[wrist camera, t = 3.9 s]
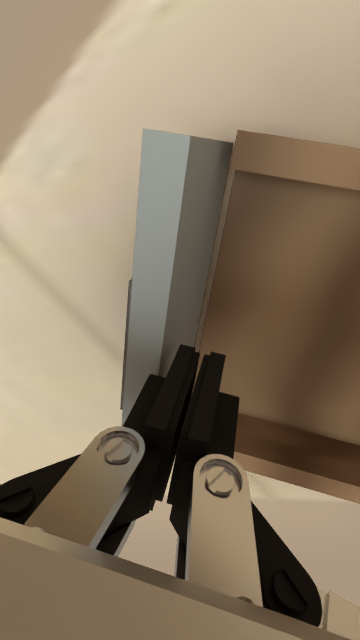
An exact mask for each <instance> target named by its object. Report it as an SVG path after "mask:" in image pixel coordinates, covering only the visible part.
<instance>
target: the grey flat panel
mask: <svg viewBox="0 0 360 640" xmlns="http://www.w3.org/2000/svg"><path fill="white" fill-rule="evenodd" d="M232 148H233V143H230V142H224V141H218V140H212V139H206V138H200V137H194V136H188V135H182V134H175V133H169V132H163V131H156V130H150V129H144V128H143V138H142V152H141V166H140V180H139V193H138V207H137V221H136V235H135V248H134V262H133V276H132V279H131V280H130V281H129V290H128V304H127V319H126V334H125V349H124V363H123V378H122V393H121V408H120V409H122V410H123V414H122V427H123V425H124V423H125V421H126V419H127V417H128V415H129V413H130V411H131V409H132V407H133V405H134V403H135V401H136V400H137V398H138V396H139V394H140V392H141V390H142V388H143V386H144V384H145V382H146V380H147V378H148V377H149V375H150V374H153V375H157V376H161V377H165V378H166V376H167V373H168V371H169V369H170V367H171V364H172V362H173V360H174V358H175V355H176V353H177V351H178V348H179V346H180V344H182V345H187V346H191V347H194V346H195V341H196V336H197V330H198V325H199V320H200V315H201V310H202V304H203V299H204V294H205V289H206V284H207V278H208V273H209V268H210V263H211V257H212V252H213V247H214V242H215V237H216V231H217V226H218V221H219V216H220V210H221V205H222V200H223V195H224V190H225V184H226V179H227V174H228V169H229V164H230V158H231V153H232Z"/></svg>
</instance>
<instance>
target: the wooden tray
mask: <svg viewBox="0 0 360 640" xmlns="http://www.w3.org/2000/svg"><path fill="white" fill-rule="evenodd" d="M230 169H235V170H236V171H235V176H234V181H233V186H232V191H231V196H230V201H229V206H228V210H227V215H226V220H225V225H224V230H223V235H222V240H221V245H220V250H219V255H218V260H217V265H216V270H215V275H214V280H213V285H212V290H211V295H210V300H209V305H208V310H207V315H206V320H205V324H204V329H203V334H202V339H201V344H200V349H199V353H200V357H199V362H198V367H197V372H196V377H195V382H194V386H195V383H196V380H197V376H198V373H199V370H200V366H201V363H202V360H203V356H204V354H206V355H210V353H211V352H215V353H219V354H224V355H226V358H225V363H224V368H223V373H222V378H221V384H220V389H219V392H222V393H226V394H230V395H234V396H238V397H239V398H240V399H239V410H238V419H237V429H236V439H235V448H234V458H233V460H235V461H236V462H237V463H238V464H240V465H241V466H242V468H243V469H244V470H245V471H249V472H252V473H256V474H259V475H263V476H266V477H270V478H273V479H276V480H280V481H283V482H287V483H290V484H294V485H297V486H301V487H304V488H308V489H311V490H314V491H318V492H321V493H325V494H328V495H332V496H335V497H339V498H342V499H345V500H349V501H352V502H356V503H359V504H360V149H359V148H353V147H346V146H340V145H333V144H327V143H320V142H313V141H307V140H300V139H294V138H287V137H281V136H274V135H268V134H261V133H255V132H248V131H241V130H238V131H237V136H236V141H235V147H234V152H233V157H232V162H231V167H230ZM193 390H194V387H193ZM192 393H193V392H192Z"/></svg>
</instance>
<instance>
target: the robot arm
mask: <svg viewBox="0 0 360 640" xmlns="http://www.w3.org/2000/svg"><path fill="white" fill-rule="evenodd" d="M199 357H200V353H198V352H195V347H191V346H187V345H182V344H180V346H179V348H178V351H177V353H176V355H175V358H174V360H173V362H172V364H171V367H170V369H169V371H168V373H167V376H166V378H165V377H161V376H157V375H153V374H150V375H149V377H148V378H147V380H146V382H145V384H144V386H143V388H142V390H141V392H140V394H139V396H138V398H137V400H136V401H135V403H134V405H133V407H132V409H131V411H130V413H129V415H128V417H127V419H126V421H125V423H124V425H123V427H112V428H108V429H106V430H104V431H102V432H100V433H99V434H98V435H97V436H96V437H95V438H94V439H93V441H92V442H91V443H90V444H89V445H88V447H87V448H86V449H85V450H84V452H83V453H82V454H80V455H77V456H74V457H71V458H69V459H66V460H63V461H60V462H58V463H55V464H52V465H50V466H47V467H44V468H41V469H39V470H36V471H33V472H31V473H28V474H25V475H22V476H20V477H17V478H14V479H12V480H10V481H8V482H6V483H4V484H2V485H1V484H0V640H360V607H359V606H357V605H355V604H353V603H352V602H350V601H348V600H346V599H345V598H343V597H341V596H339V595H338V594H336V593H335V592H333V591H331V590H330V591H329V592H328V593H326V592H324V591H323V590H321V589H319V588H318V587H316V585H315V584H314V582H313V580H312V579H311V577H310V576H309V575H308V573H307V572H306V570H305V569H304V568H303V567H302V565H301V564H300V563H299V561H298V560H297V559H296V558H295V556H294V555H293V554H292V552H291V551H290V550H289V549H288V547H287V546H286V545H285V544H284V542H283V541H282V540H281V538H280V537H279V536H278V535H277V533H276V532H275V531H274V529H273V528H272V527H271V526H270V524H269V523H268V522H267V520H266V519H265V518H264V517H263V515H262V514H261V513H260V512H259V510H258V509H257V508H256V506H255V505H254V504H253V503H252V501H251V499H250V490H249V482H248V478H247V474H246V473H245V471H244V469H243V468H242V466H241V465H240V464H238V463H237V462H236V461H235V460H233V458H234V448H235V439H236V429H237V419H238V410H239V399H240V398H239V397H238V396H234V395H230V394H226V393H222V392H219V389H220V384H221V378H222V373H223V368H224V363H225V358H226V355H224V354H219V353H215V352H211V353H210V355H206V354H204V356H203V360H202V363H201V366H200V370H199V373H198V376H197V380H196V383H195V386H194V382H195V377H196V372H197V367H198V362H199ZM193 387H194V390H193ZM192 392H193V393H192ZM175 456H176V458H175ZM174 459H175V463H174ZM173 463H174V468H173V473H172V478H171V483H170V488H169V493H168V499H167V503H168V504H172V510H171V514H170V521H171V523H172V525H173V527H174V529H175V530H176V532H177V534H178V539H177V547H176V560H175V572H174V576H171V575H168V574H165V573H162V572H159V571H157V570H153V569H151V568H148V567H145V566H142V565H139V564H136V563H133V562H131V561H127V560H125V559H122V558H119V557H118V556H119V554H120V552H121V550H122V548H123V546H124V544H125V542H126V540H127V538H128V537H129V535H130V533H131V531H132V529H133V527H134V524H135V521H136V519H138V518H140V517H142V516H144V515H145V514H147V513H149V510H151V511H152V510H153V506H154V503H155V500H158V501H161V502H162V500H163V497H164V493H165V490H166V487H167V483H168V480H169V476H170V473H171V470H172V466H173Z"/></svg>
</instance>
